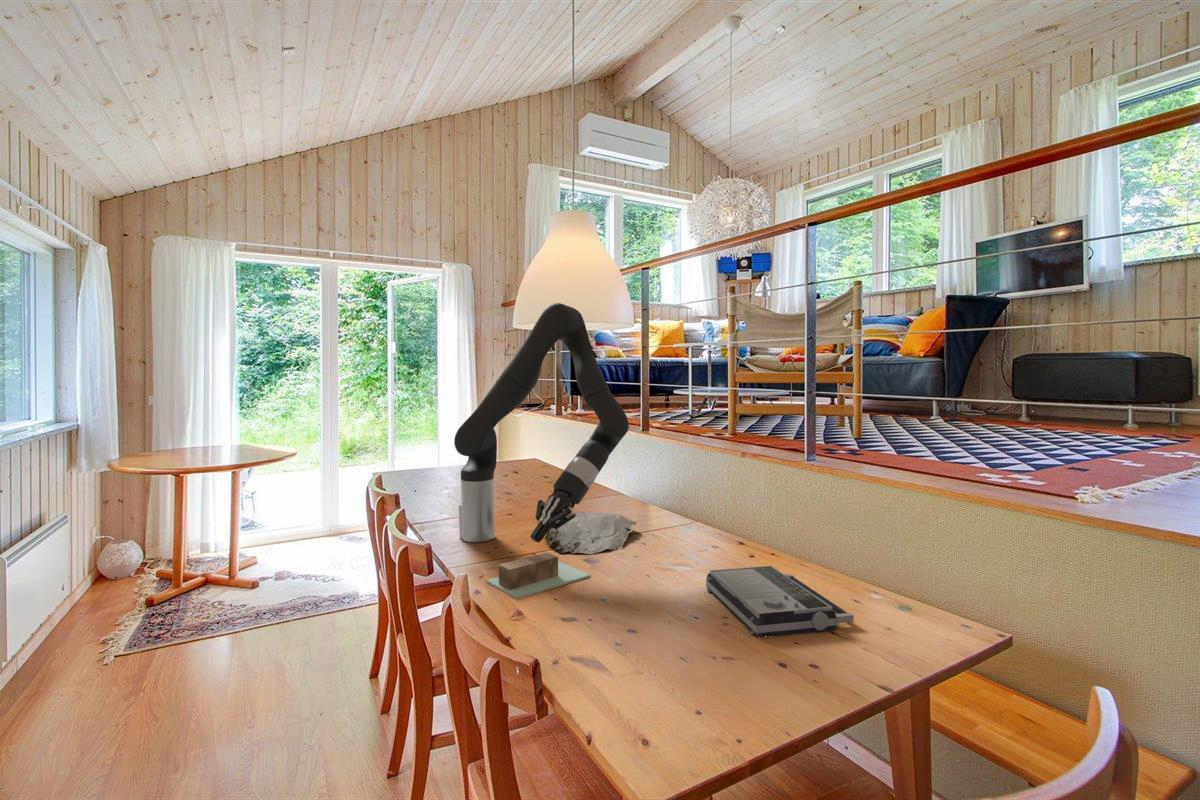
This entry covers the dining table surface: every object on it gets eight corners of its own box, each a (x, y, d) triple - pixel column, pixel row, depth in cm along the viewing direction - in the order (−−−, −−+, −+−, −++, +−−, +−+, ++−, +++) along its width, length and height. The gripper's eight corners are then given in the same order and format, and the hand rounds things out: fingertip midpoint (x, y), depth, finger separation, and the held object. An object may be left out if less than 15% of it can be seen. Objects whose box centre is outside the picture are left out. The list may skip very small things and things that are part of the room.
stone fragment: (659, 545, 163) (660, 522, 163) (566, 561, 149) (566, 536, 149) (613, 522, 185) (613, 502, 185) (528, 534, 171) (528, 512, 171)
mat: (557, 563, 146) (557, 561, 146) (590, 576, 136) (590, 574, 136) (486, 582, 133) (486, 579, 133) (516, 598, 123) (516, 596, 123)
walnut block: (546, 552, 138) (498, 564, 130) (557, 556, 135) (509, 569, 127) (546, 571, 139) (499, 584, 130) (558, 576, 135) (509, 590, 127)
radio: (705, 567, 127) (789, 561, 131) (705, 591, 127) (789, 584, 131) (756, 613, 103) (858, 603, 107) (756, 642, 104) (857, 631, 107)
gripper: (551, 466, 144) (508, 524, 137) (584, 473, 134) (541, 536, 127) (568, 485, 148) (528, 542, 140) (602, 493, 138) (561, 556, 130)
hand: (534, 540), depth 133 cm, fingers closed
